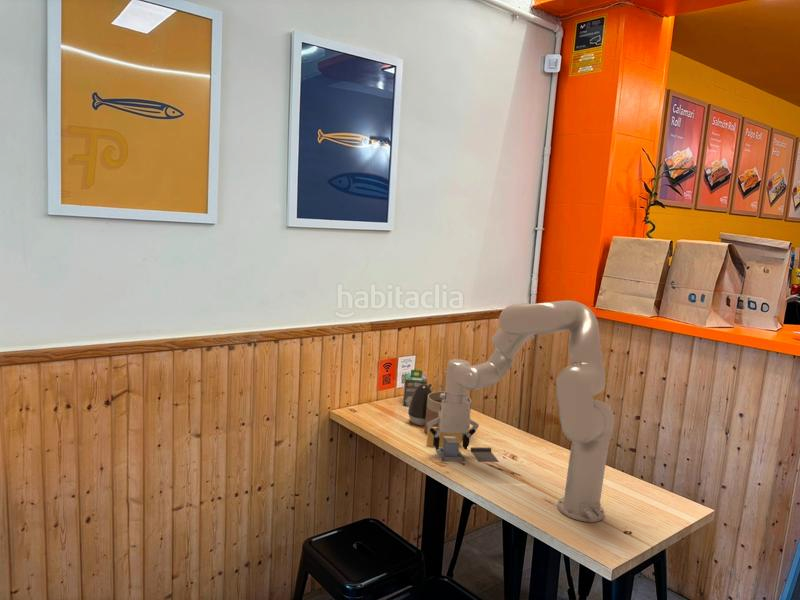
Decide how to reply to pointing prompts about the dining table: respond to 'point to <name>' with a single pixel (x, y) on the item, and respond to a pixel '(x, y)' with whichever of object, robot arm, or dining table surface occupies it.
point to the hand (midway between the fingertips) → (450, 447)
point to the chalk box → (412, 385)
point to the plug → (450, 446)
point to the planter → (435, 408)
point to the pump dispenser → (419, 404)
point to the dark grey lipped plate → (483, 454)
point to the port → (439, 451)
